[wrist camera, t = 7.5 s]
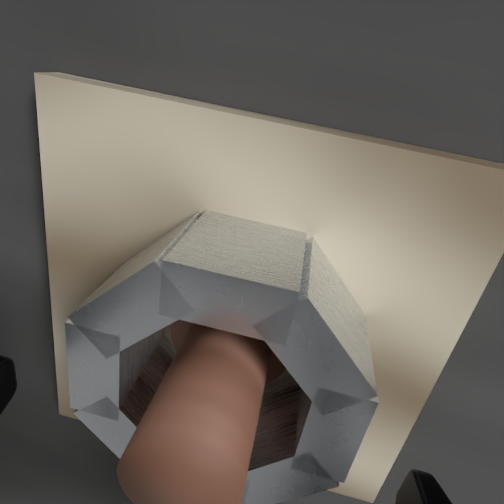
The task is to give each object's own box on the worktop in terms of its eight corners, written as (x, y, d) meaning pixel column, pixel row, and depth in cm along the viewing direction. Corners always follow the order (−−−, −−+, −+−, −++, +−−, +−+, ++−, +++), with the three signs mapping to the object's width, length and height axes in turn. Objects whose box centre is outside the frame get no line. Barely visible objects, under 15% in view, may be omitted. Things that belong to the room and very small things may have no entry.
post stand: (370, 477, 15) (394, 710, 9) (74, 394, 16) (-57, 562, 10) (521, 167, 9) (781, 297, 4) (59, 72, 10) (-228, 74, 5)
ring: (323, 437, 13) (321, 533, 10) (124, 384, 13) (73, 461, 11) (390, 251, 10) (415, 319, 7) (128, 193, 10) (59, 235, 8)
